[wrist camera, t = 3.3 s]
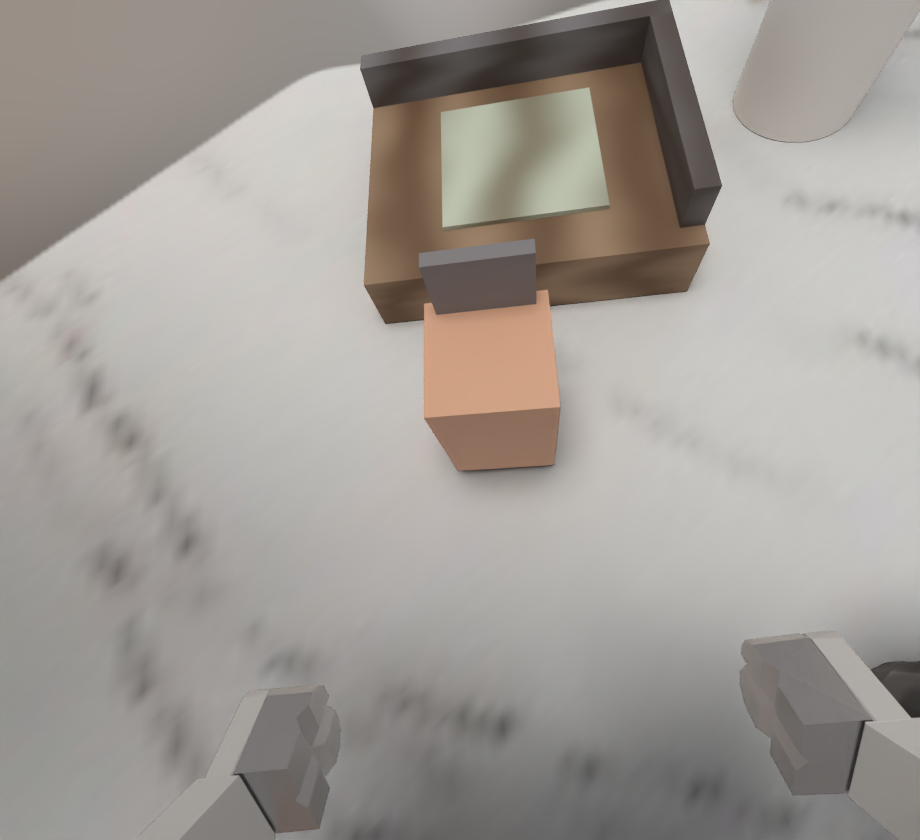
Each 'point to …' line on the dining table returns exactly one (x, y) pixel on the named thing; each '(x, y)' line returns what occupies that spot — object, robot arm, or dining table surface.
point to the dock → (541, 157)
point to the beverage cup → (902, 684)
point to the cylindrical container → (817, 64)
